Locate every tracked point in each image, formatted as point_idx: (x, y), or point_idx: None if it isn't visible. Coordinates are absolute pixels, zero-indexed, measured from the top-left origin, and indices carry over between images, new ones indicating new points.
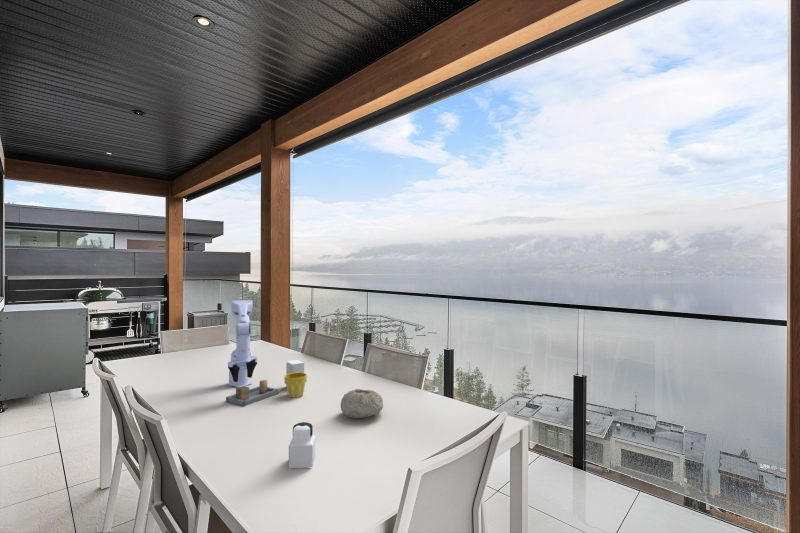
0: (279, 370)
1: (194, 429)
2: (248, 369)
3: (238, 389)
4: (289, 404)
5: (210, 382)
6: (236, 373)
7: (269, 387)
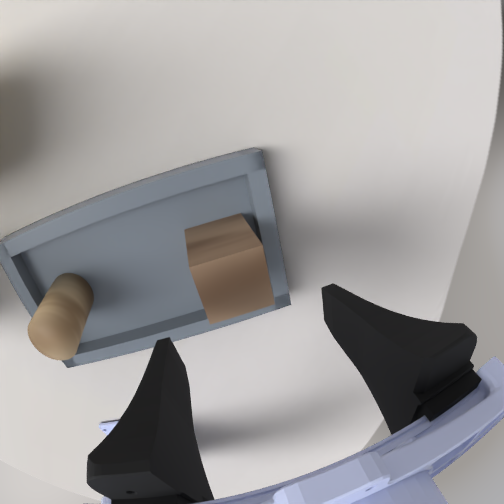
0: (8, 454)
1: (474, 81)
2: (186, 425)
3: (268, 277)
4: (43, 9)
5: (221, 471)
6: (399, 317)
7: (31, 315)
